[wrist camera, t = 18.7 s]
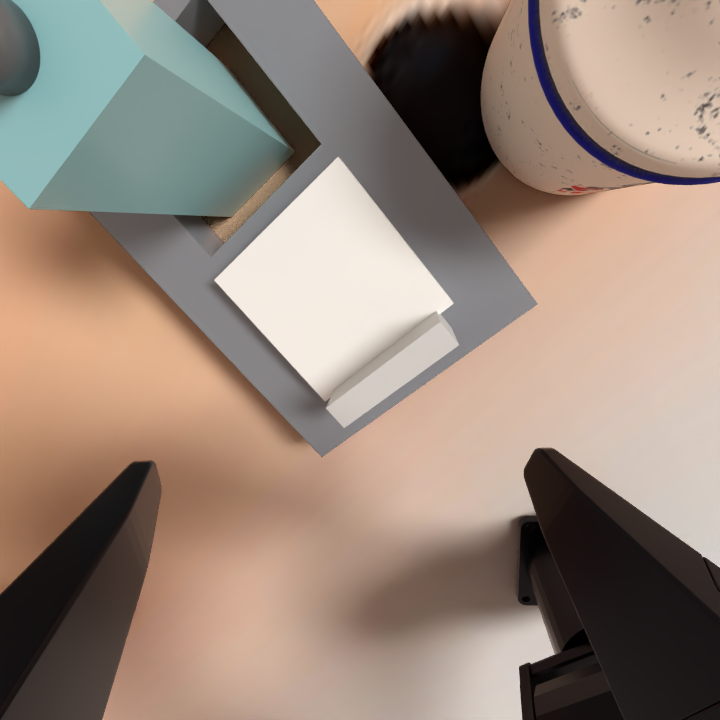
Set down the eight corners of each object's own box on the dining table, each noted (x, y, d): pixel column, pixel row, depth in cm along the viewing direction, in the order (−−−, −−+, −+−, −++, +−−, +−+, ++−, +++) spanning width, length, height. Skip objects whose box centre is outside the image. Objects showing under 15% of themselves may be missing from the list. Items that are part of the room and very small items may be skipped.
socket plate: (522, 294, 20) (537, 304, 17) (330, 433, 24) (321, 457, 21) (257, -62, 16) (232, -111, 14) (83, 167, 20) (40, 160, 18)
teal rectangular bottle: (295, 151, 19) (110, 31, 7) (231, 216, 20) (-14, 207, 8) (220, 58, 18) (-133, -256, 6) (159, 133, 19) (-230, -10, 7)
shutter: (465, 317, 18) (475, 333, 15) (341, 409, 20) (331, 437, 17) (341, 159, 16) (328, 147, 14) (221, 277, 18) (191, 286, 16)
